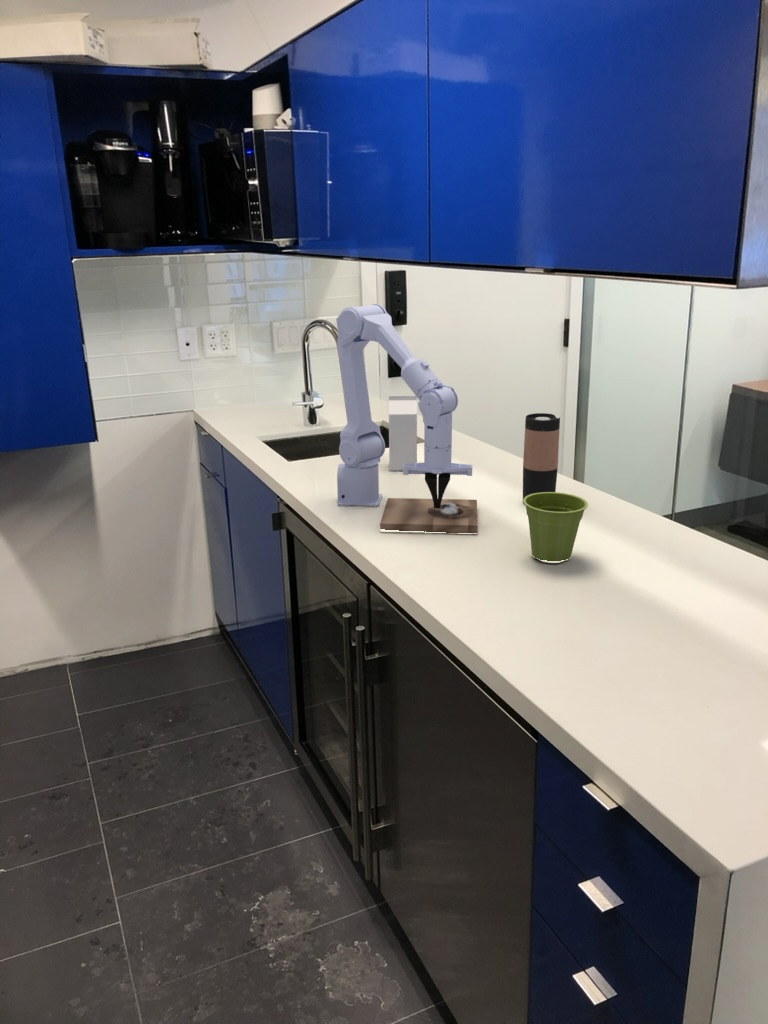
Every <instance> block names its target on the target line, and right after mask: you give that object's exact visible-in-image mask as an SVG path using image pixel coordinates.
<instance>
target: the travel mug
mask: <svg viewBox="0 0 768 1024" xmlns="http://www.w3.org/2000/svg"><path fill="white" fill-rule="evenodd" d="M524 424H525V425H524V442H523V462H522V500H523V499H524V498H525V497H526V496H528V495H530V494H534V493H541V492H556V489H557V481H558V480H557V479H558V469H559V467H558V466H559V448H560V447H559V446H560V428H561V427H560V426H561V425H560V424H561V417H556V415H555V414H552V413H544V412H543V413H542V412H541V413H539V412H538V413H537V412H536V413H530V414H527V415H526V416H525V421H524ZM522 503H523V502H522ZM523 504H524V503H523ZM524 506H526V505H525V504H524Z"/></svg>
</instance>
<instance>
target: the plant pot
mask: <svg viewBox="0 0 768 1024" xmlns="http://www.w3.org/2000/svg"><path fill="white" fill-rule="evenodd" d="M522 503H524V504H525V505H524V506H525V510H526V515H527V517H528V527H529V536H530V537H529V538H530V539H529V540H530V548H531V549H530V550H531V556H532V555H533V556H534V557H535V558H538V559H540V560H547V561H561V560H566V559H569V558H570V557H572V553H573V549H574V545H575V541H576V538H577V534H578V531H579V528H580V527H579V526H580V522H581V520H582V519H583V515H584V512H585V510H586V509H587V508H588V505H589V502H588V501H587V500H586V499H584V498H583V497H580V496H577V495H574V494H572V493H570V494H569V493H565V492H541V493H534V494H530V495H528V496H526V497H525V498H524V499H523V498H522ZM533 556H532V557H533ZM538 559H537V560H538ZM570 559H571V558H570Z"/></svg>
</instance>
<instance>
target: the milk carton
mask: <svg viewBox="0 0 768 1024" xmlns="http://www.w3.org/2000/svg"><path fill="white" fill-rule="evenodd" d="M417 401H418V398H417V397H416V395H389V396H388V443H389V444H388V449H389V450H388V456H389V457H388V458H389V459H388V460H389V461H388V463H389V466H388V467H389V469H388V470H389V472H390V471H392V472H393V471H394V472H395V471H403V465H404V464H413V463H418V405H417V404H418V402H417Z"/></svg>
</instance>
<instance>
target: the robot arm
mask: <svg viewBox="0 0 768 1024" xmlns="http://www.w3.org/2000/svg"><path fill="white" fill-rule="evenodd" d="M392 321H393V319H392V316H391V315H390V314H389V313H388V312H387V310H386V308H384V306H382V305H381V304H379V303H373V304H369V305H368V304H367V305H361V306H347V307H345V308H343V310H342V311H341V312H340V313H339V315H338V316H337V318H336V325H337V326H336V328H337V339H336V348H337V357H338V362H339V363H338V364H339V370H340V375H341V376H340V378H341V385H342V392H343V399H344V400H343V401H344V408H345V414H346V422H347V423H346V424H345V426H344V427H343V429H342V430H341V432H340V434H339V438H340V443H339V447H338V452H339V457H340V459H341V460H342V462H343V463H339V464H338V465H337V472H336V473H337V474H336V480H337V481H336V483H337V484H336V485H337V487H336V488H337V505H338V506H349V505H364V506H363V507H378V506H380V504H381V501H382V497H383V494H382V493H380V484H379V483H380V481H379V479H380V478H379V477H380V476H379V463H380V462H381V457H382V456H383V455H384V454H385V451H386V443H385V439H384V437H383V435H382V433H381V427H380V426H379V425H378V424H377V423H376V422H375V421H373V419H372V412H371V406H370V405H371V404H370V396H369V390H368V381H367V374H366V365H365V364H366V363H365V356H364V349H365V348H366V346H368V344H369V343H370V342H376V343H378V344H379V345H380V346H381V347H382V348H383V349H384V351H385V352H386V353H387V354H388V355H389V356H390V357H391V358H392V360H393V361H394V362H395V363H396V364H397V366H399V367H400V368H401V371H400V376H401V379H402V380H403V381H404V382H405V384H406V385H407V387H408V388H410V390H411V391H412V392H413V395H414V396H416V397H417V400H418V401H419V402H417V404H418V405H417V407H418V410H419V412H420V413H421V415H422V422H423V424H424V425H423V426H424V428H423V429H424V436H423V438H424V443H423V445H424V448H423V449H424V450H423V456H424V457H423V459H424V461H423V462H417V463H413V464H404V465H403V470H402V471H403V472H402V474H403V476H408V475H424V481H425V484H426V486H427V487H428V490H429V492H430V495H431V499H433V503H434V508H441V501H442V499H443V498H444V494H445V492H446V489H447V487H448V485H449V484H450V480H451V476H452V475H453V476H460V475H461V476H468V477H472V476H473V464H468V463H467V464H466V463H464V464H463V463H455V462H452V450H453V449H452V448H453V447H452V445H453V443H452V441H453V433H452V432H453V412H454V411H456V409H457V408H458V403H459V397H458V395H457V393H456V391H455V389H454V387H452V386H450V385H447V384H444V383H443V382H442V381H441V380H440V379H439V378H438V377H437V376H436V374H435V373H434V371H432V370H431V368H430V364H429V363H428V361H427V360H424V359H422V358H417V357H414V354H412V352H411V351H410V349H409V348H408V347H407V344H406V343H405V341H404V340H403V338H402V337H401V336H400V334H399V333H398V332H397V330H396V328H395V327H394V325H393V324H392V323H393V322H392ZM366 505H368V506H366Z"/></svg>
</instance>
